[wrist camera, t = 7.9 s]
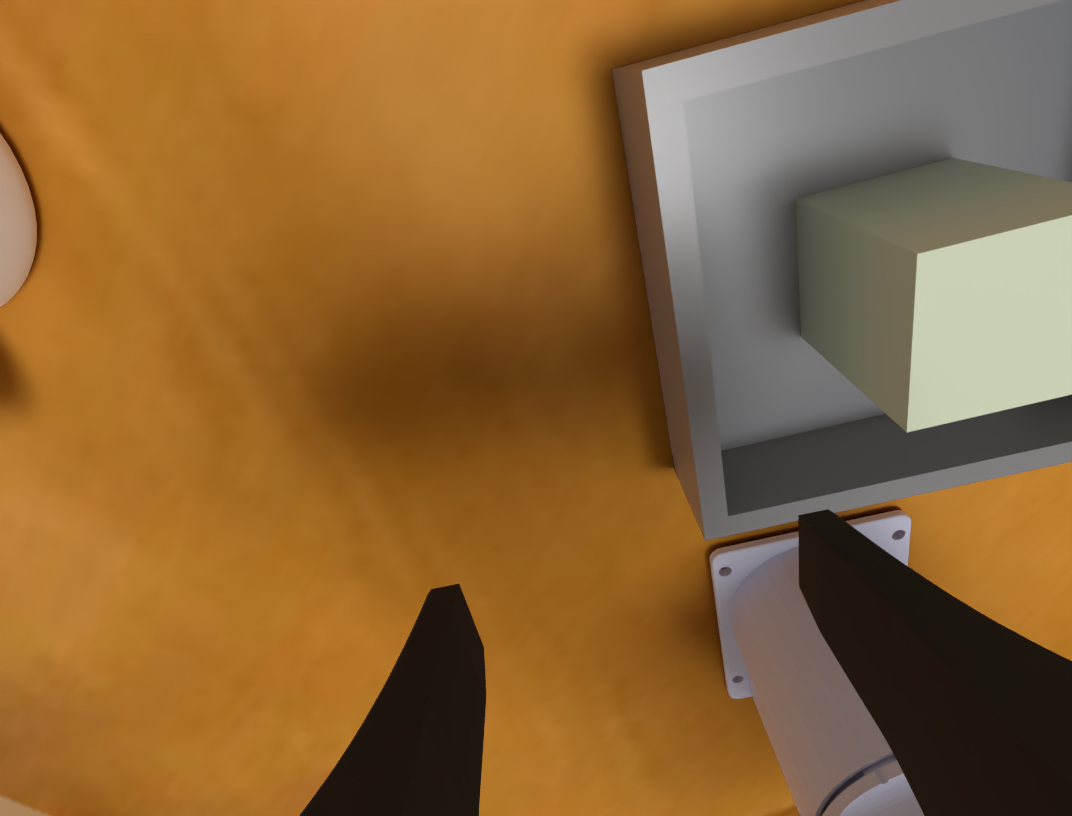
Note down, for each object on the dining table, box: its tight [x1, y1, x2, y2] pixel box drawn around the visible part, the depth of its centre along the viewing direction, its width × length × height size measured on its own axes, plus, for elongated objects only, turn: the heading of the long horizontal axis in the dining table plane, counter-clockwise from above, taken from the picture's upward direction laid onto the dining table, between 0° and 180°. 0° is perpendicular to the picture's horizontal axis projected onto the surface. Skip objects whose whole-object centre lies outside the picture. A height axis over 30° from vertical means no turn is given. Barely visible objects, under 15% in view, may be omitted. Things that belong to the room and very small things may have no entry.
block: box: [796, 158, 1072, 432], centre depth 16 cm, size 4×4×6 cm
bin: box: [612, 0, 1072, 541], centre depth 18 cm, size 14×14×4 cm
